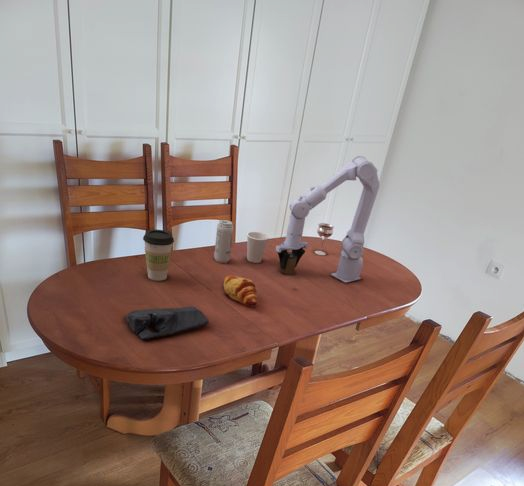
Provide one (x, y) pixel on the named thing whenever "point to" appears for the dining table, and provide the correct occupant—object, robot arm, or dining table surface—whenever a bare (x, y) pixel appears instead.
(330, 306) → the dining table surface
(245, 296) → the croissant
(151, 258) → the coffee cup
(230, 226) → the energy drink can
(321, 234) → the wineglass
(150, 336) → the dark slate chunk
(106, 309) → the dining table surface
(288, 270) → the tea tin
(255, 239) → the dixie cup
